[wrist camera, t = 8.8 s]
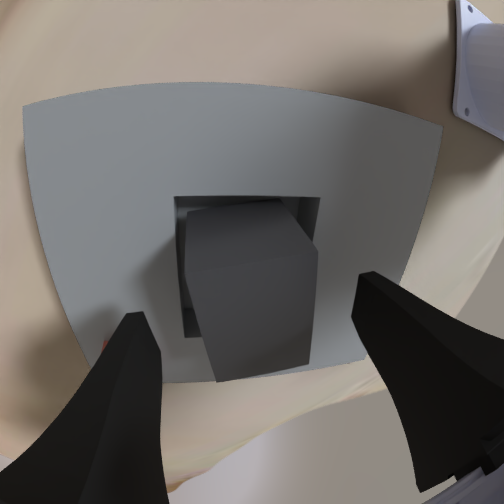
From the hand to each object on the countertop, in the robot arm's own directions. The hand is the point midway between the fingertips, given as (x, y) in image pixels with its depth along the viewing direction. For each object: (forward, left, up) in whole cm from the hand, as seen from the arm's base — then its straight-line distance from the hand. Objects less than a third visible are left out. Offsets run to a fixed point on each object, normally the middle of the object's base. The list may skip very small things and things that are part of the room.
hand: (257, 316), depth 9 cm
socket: (0, 0, -5) cm, 5 cm away
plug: (0, 0, -4) cm, 4 cm away
